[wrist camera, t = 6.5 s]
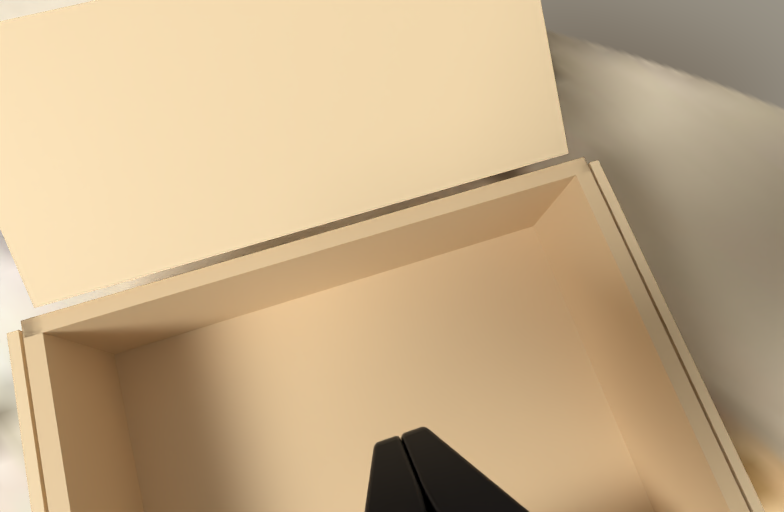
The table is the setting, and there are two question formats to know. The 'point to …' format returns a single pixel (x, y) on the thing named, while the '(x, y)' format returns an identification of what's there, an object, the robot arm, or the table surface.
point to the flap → (250, 122)
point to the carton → (385, 368)
